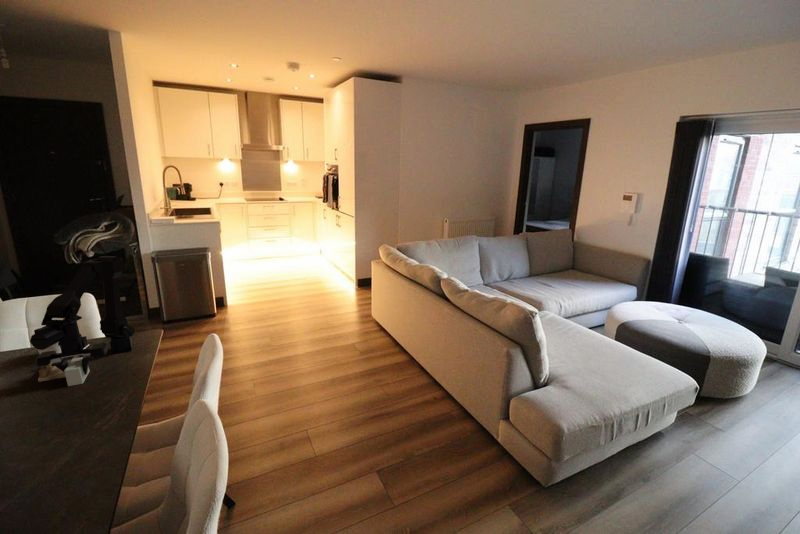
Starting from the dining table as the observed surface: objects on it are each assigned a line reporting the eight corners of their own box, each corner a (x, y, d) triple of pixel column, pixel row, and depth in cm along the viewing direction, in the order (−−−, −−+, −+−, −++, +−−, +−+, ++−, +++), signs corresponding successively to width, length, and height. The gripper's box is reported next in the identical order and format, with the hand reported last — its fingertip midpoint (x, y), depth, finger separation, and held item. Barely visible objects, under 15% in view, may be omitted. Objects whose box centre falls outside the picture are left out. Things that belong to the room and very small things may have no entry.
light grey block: (89, 370, 138) (86, 356, 137) (82, 383, 131) (79, 368, 129) (75, 373, 136) (72, 358, 135) (67, 386, 129) (63, 371, 127)
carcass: (84, 359, 146) (80, 346, 144) (74, 375, 135) (71, 360, 134) (51, 365, 141) (47, 351, 140) (38, 381, 131) (34, 366, 129)
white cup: (44, 353, 150) (38, 330, 147) (68, 349, 153) (63, 327, 150) (35, 362, 143) (29, 339, 140) (61, 358, 146) (55, 335, 144)
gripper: (107, 322, 140) (115, 359, 144) (42, 331, 132) (52, 370, 136) (100, 334, 130) (108, 373, 135) (29, 344, 122) (41, 386, 126)
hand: (78, 375), depth 133 cm, fingers closed on light grey block, 4 cm apart
